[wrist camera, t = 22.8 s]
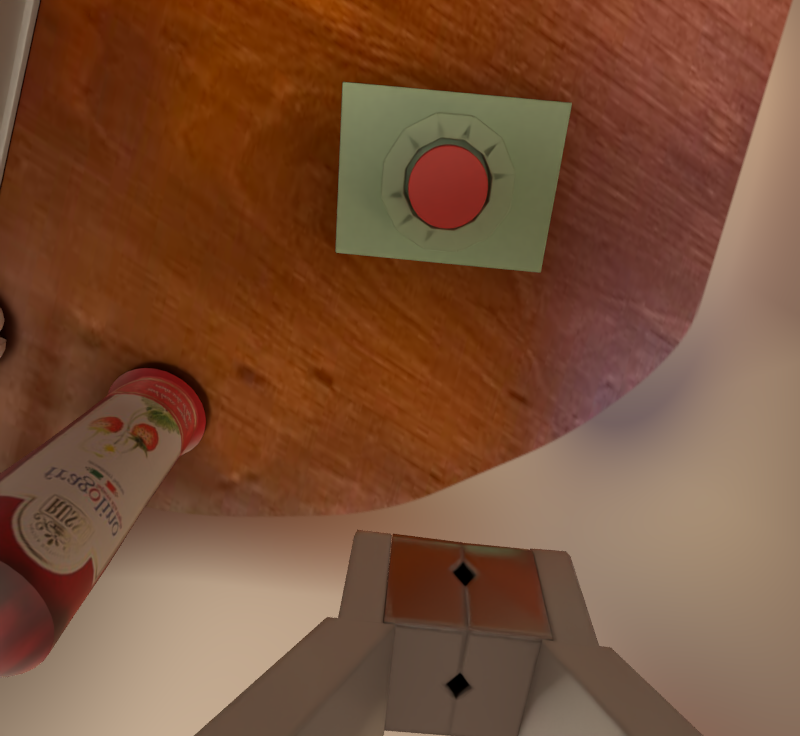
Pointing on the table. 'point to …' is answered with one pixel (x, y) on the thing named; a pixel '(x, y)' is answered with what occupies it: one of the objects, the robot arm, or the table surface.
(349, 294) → the table surface
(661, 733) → the robot arm
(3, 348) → the water bottle
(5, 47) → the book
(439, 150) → the button
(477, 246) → the button box
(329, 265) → the table surface
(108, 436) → the liquor
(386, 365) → the table surface
